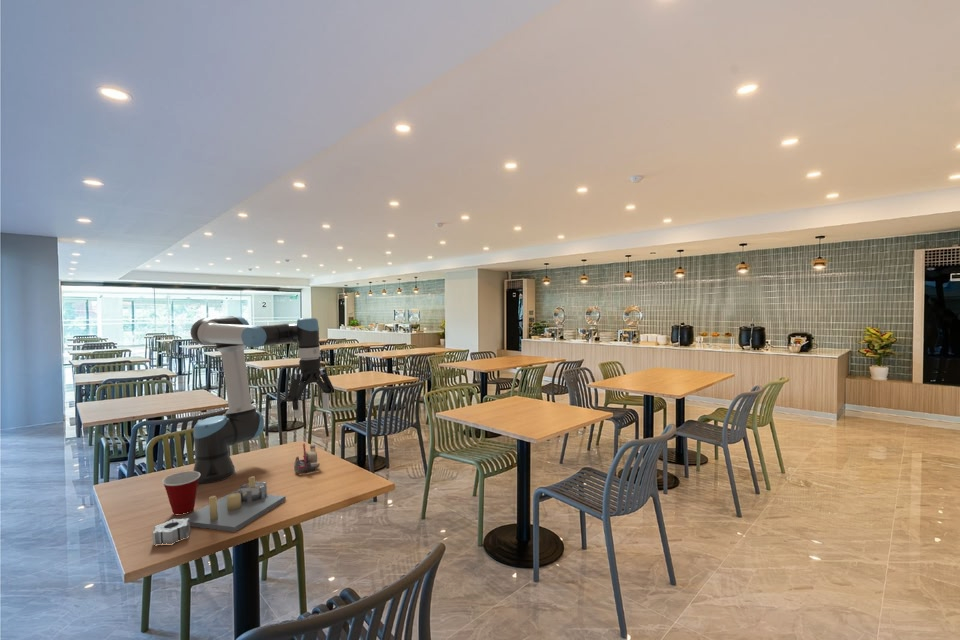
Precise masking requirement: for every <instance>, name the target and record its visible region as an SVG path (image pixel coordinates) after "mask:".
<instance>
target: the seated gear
mask: <svg viewBox="0 0 960 640" xmlns="http://www.w3.org/2000/svg"><path fill="white" fill-rule="evenodd" d="M239 486H240V487H239V488H238V489H237V492H238V493H240V494H241V502H247V503H251V502H252V501H256V500H259V499H263V498H265V494H268V490H267V488H268V487H267V482H266V481H257V480H255V486H254V487H249V482H248V483H245V484H244V483H243V484H241V485H239Z"/></svg>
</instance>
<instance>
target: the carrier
mask: <svg viewBox="0 0 960 640" xmlns="http://www.w3.org/2000/svg"><path fill="white" fill-rule="evenodd" d="M255 481H256V477H255V475H254V476H253V475H252V476H249V477H248V483H249V487H254V486H255ZM286 498H287V497H286V495H279V494H278V495H277V494H268V493H267V494H265V498H263V499H259V500H256V501H252V502H251V503H247V502H241V494H240V493H238V491H231V492H230V493H228V494H227V495H225V496H222V497H221V498H219V499H217V495H210V496H209V497H208V503H209V504H207V505H205V506H204V507H202V508H199V509H197V510H196V511H194V512H193V511H192V513H190V514H187V515H186V516H184V517H182V518H181V519H186V518H188V519H190V526H194V527H193V528H197V527H200V528H199V529H206V528H209V529H208V530H214V529H217V530H216V531H223V532H233V533H236V532H238V531H239V530H241V529H243V528H244V527H246V526H247V525H249V524H250V523H252V522H254V521H255V520H257V519H258V518H259V517H261V516H264V515H265V514H266V513H268V512H269V511H271V510H273V509H274V508H276V507H277V506H279V505H280V504H282V503H284V502H285V501H286V500H287V499H286Z"/></svg>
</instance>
